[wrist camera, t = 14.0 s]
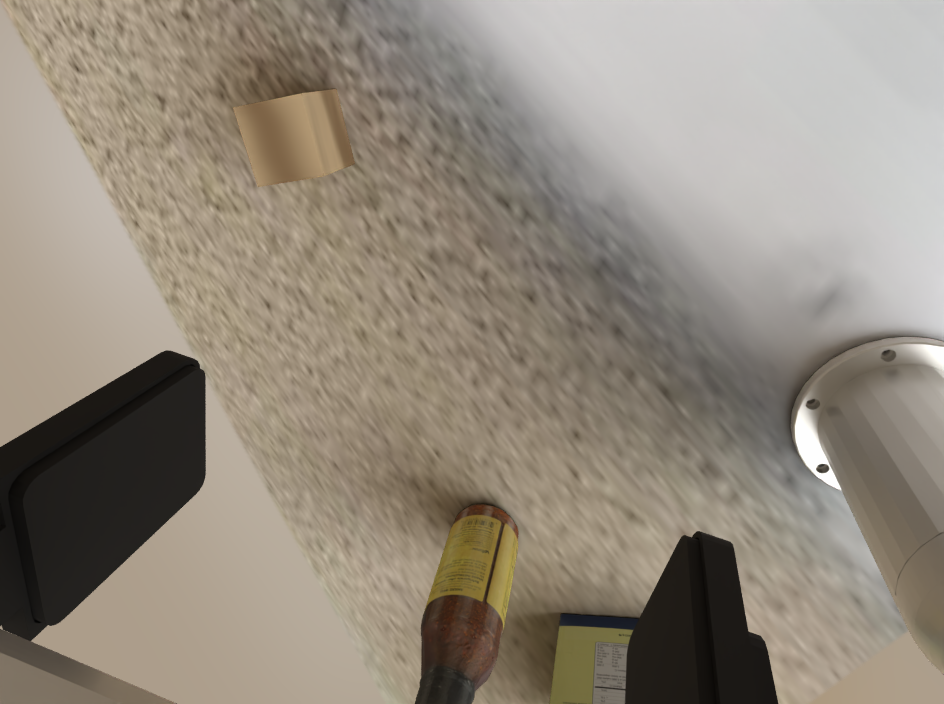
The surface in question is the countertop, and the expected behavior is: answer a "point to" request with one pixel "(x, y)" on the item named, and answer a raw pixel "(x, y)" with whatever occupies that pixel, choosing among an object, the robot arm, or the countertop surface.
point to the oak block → (295, 137)
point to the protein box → (591, 660)
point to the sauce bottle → (467, 606)
